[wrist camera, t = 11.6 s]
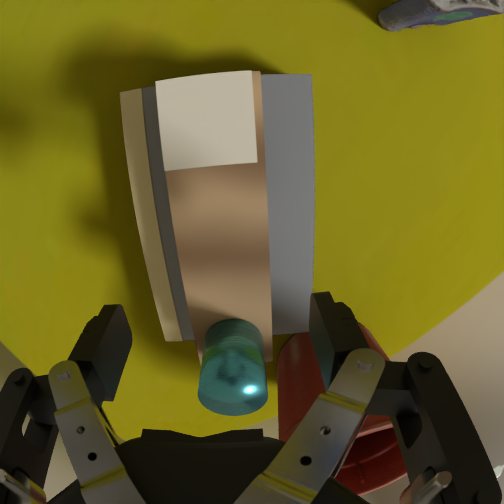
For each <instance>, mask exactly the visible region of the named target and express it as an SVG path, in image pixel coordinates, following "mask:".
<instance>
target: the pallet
mask: <svg viewBox="0 0 504 504" xmlns="http://www.w3.org/2000/svg"><path fill="white" fill-rule="evenodd" d="M252 83H253V98H254V114H255V129H256V146H257V163H242V164H229V165H218V166H207V167H197V168H188V169H179V170H170V171H165V172H166V180H167V187H168V195H169V202H170V209H171V215H172V222H173V228H174V234H175V241H176V246H177V252H178V258H179V264H180V269H181V275H182V280H183V285H184V290H185V296H186V301H187V306H188V310H189V315H190V320H191V325H192V329H193V334H194V338H195V343H196V347H197V352H198V356H199V360H200V364H201V363H202V355H203V347H204V339H205V334H206V332H207V330H208V329H209V328H210V327H211V326H212V325H213V324H215V323H216V322H219V321H221V320H225V319H241V320H245V321H248V322H250V323H252V324H253V325H255V326H256V327H257V328H258V329H259V330H260V332H261V334H262V338H263V347H264V358H265V362H273V346H272V310H271V280H270V252H269V227H268V204H267V182H266V162H265V142H264V124H263V106H262V90H261V74H260V71H252Z"/></svg>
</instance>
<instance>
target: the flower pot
mask: <svg viewBox="0 0 504 504" xmlns="http://www.w3.org/2000/svg"><path fill="white" fill-rule="evenodd" d="M358 325H359V326H360V328H361V330H362V332H363V334H364V336H365V338H366V340H367V343H368V345H369V347H370V349H372V350H375V351H377V352H378V353H380V354H381V355H382V356H383V358H384V360H387V361H390V360H389V358H388V357H387V355H386V354H385V353H384V351H383V350H382V348H381V347H380V345H379V344H378V343H377V341H376V340H375V338H374V337H373V336H372V334H371V333H370V331H369V330H368V329H367V328H365V327H364V326H363V325H361V324H359V323H358ZM277 384H278V421H279V440H281V441H284V442H287V441H288V440H289V438H290V437H291V436H292V434H293V433H294V431H295V430H296V428H297V427H298V426H299V424H300V423H301V421H302V420H303V418H304V417H305V415H306V414H307V412H308V411H309V410H310V408H311V407H312V405H313V403H314V402H315V400H316V399H317V397H318V396H319V395H320V394H321V393H322V392H323V393H326V389H325V385H324V382H323V378H322V375H321V371H320V368H319V364H318V361H317V358H316V354H315V351H314V347H313V344H312V341H311V337H310V332H303V333H296V334H295V335H294V336H293V337H292V338H291V339H290V340H289V341H288V342H287V343H286V344H285V345H284V347H283V348H282V350H281V352H280V354H279V356H278V360H277ZM405 475H407V471H406V468H405V464H404V461H403V457H402V454H401V451H400V447H399V444H398V441H397V438H396V435H395V431H394V428H393V425H392V422H391V419H390V416H380V415H367V417H366V419H365V421H364V423H363V425H362V427H361V429H360V431H359V433H358V435H357V437H356V439H355V441H354V443H353V445H352V447H351V449H350V451H349V453H348V455H347V457H346V459H345V461H344V463H343V465H342V466H341V468H340V470H339V472H338V473H337V475H336V477H335V479H336V480H337V481H339V482H340V483H342V484H343V485H344V486H346V487H347V488H348V489H350V490H351V491H353V492H354V493H355V494H357V495H358V496H359V495H363V494H366V493H368V492H371V491H374V490H377V489H379V488H381V487H383V486H386V485H388V484H390V483H392V482H394V481H396V480H398V479H400V478H401V477H403V476H405Z"/></svg>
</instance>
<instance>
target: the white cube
mask: <svg viewBox="0 0 504 504" xmlns="http://www.w3.org/2000/svg"><path fill="white" fill-rule="evenodd" d="M155 83H156V96H157V107H158V118H159V128H160V137H161V146H162V155H163V163H164V171H170V170H179V169H188V168H197V167H207V166H218V165H229V164H242V163H257V146H256V129H255V114H254V98H253V83H252V70H249V71H233V72H221V73H211V74H202V75H194V76H186V77H179V78H172V79H166V80H160V81H155Z"/></svg>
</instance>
